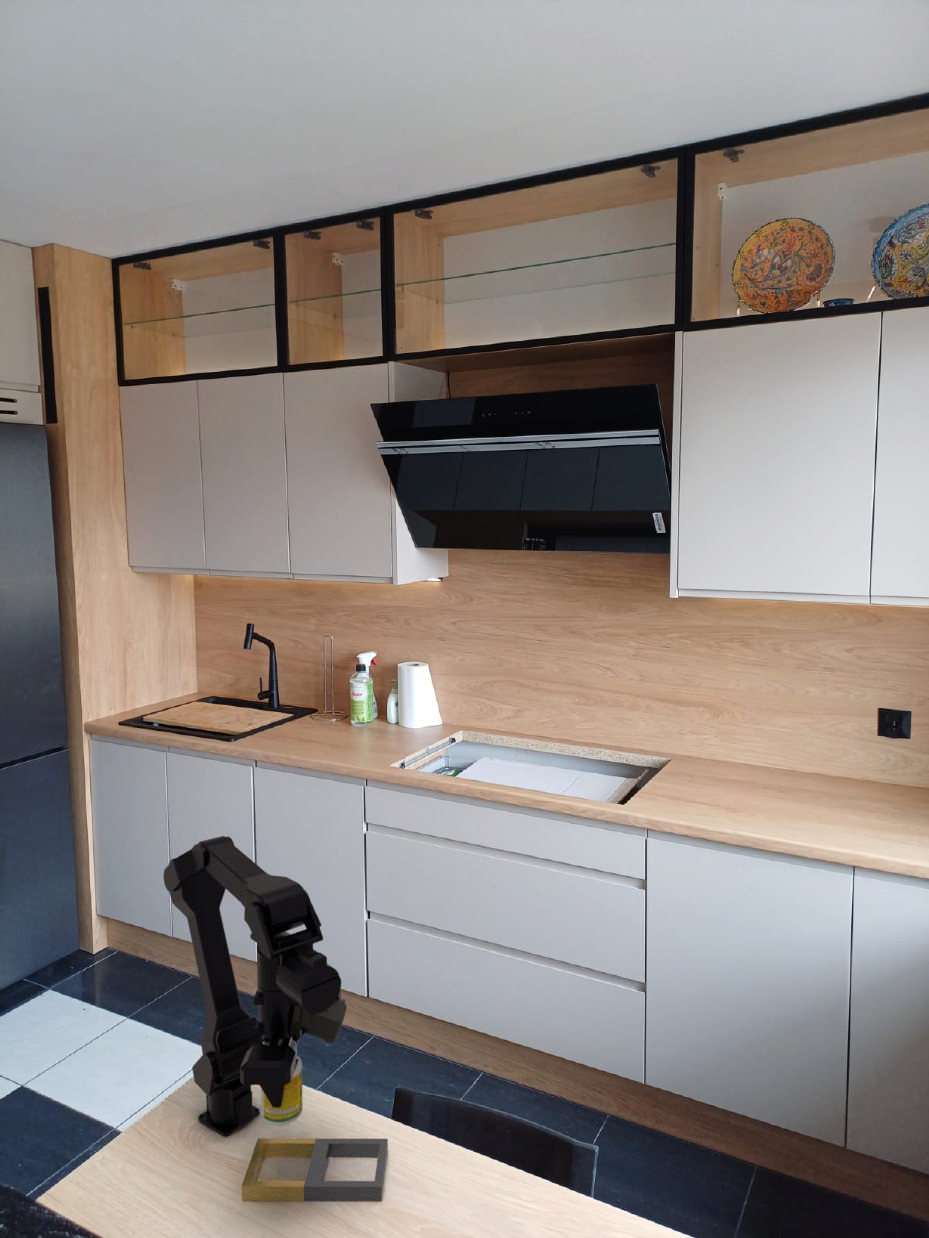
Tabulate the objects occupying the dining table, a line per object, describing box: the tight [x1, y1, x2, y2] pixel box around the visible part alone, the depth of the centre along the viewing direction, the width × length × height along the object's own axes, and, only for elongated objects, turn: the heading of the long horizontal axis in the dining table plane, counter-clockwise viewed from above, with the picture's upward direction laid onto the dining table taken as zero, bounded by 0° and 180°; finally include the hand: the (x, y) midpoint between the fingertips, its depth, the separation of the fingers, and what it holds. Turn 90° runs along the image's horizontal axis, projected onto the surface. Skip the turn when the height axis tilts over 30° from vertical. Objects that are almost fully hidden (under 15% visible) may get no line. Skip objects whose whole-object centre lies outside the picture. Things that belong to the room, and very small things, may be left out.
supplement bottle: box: [260, 1039, 303, 1127], centre depth 116 cm, size 5×5×10 cm
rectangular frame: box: [240, 1137, 389, 1202], centre depth 117 cm, size 18×9×2 cm, turn 90°
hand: (281, 1092), depth 116 cm, fingers closed on supplement bottle, 5 cm apart
